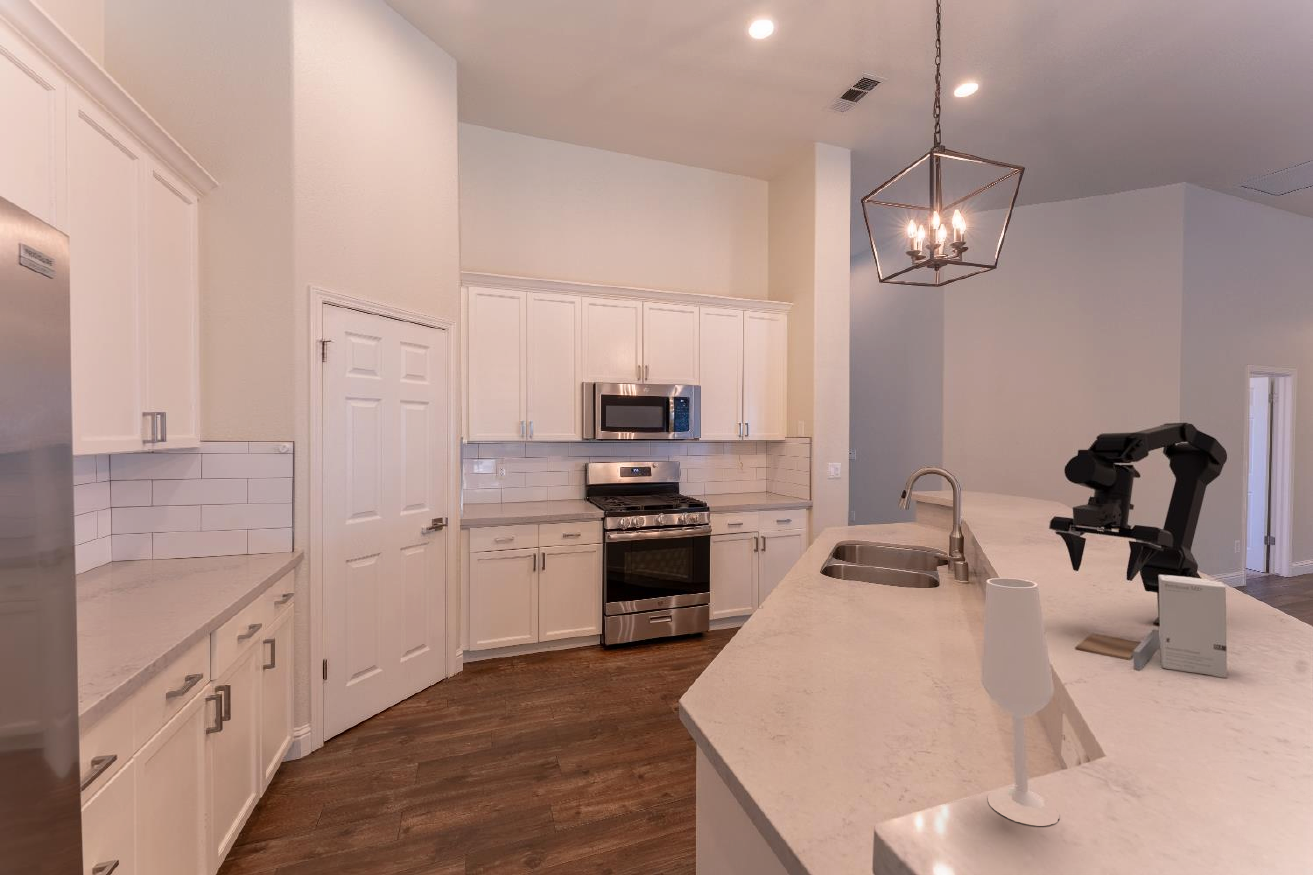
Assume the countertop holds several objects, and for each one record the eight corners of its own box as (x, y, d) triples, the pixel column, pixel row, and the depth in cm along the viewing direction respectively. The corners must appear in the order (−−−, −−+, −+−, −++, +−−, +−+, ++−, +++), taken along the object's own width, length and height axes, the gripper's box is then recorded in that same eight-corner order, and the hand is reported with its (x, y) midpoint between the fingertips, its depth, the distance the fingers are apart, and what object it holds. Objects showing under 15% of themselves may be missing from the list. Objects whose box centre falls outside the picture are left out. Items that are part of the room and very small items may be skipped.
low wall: (1154, 645, 109) (1153, 629, 109) (1159, 646, 109) (1159, 630, 109) (1133, 669, 99) (1133, 651, 99) (1140, 670, 98) (1139, 652, 98)
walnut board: (1092, 635, 116) (1092, 633, 116) (1144, 644, 110) (1143, 642, 110) (1075, 649, 109) (1075, 646, 109) (1129, 659, 103) (1129, 657, 103)
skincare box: (1161, 668, 99) (1157, 579, 99) (1159, 657, 103) (1155, 572, 104) (1231, 679, 93) (1226, 585, 94) (1226, 667, 98) (1221, 577, 98)
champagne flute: (1058, 799, 64) (1047, 578, 65) (1061, 834, 59) (1049, 592, 59) (988, 782, 68) (978, 574, 68) (984, 814, 62) (974, 586, 63)
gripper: (1038, 483, 120) (1026, 559, 118) (1146, 490, 103) (1135, 579, 101) (1070, 495, 124) (1060, 568, 123) (1179, 503, 107) (1168, 588, 106)
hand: (1101, 575), depth 113 cm, fingers open, 9 cm apart
